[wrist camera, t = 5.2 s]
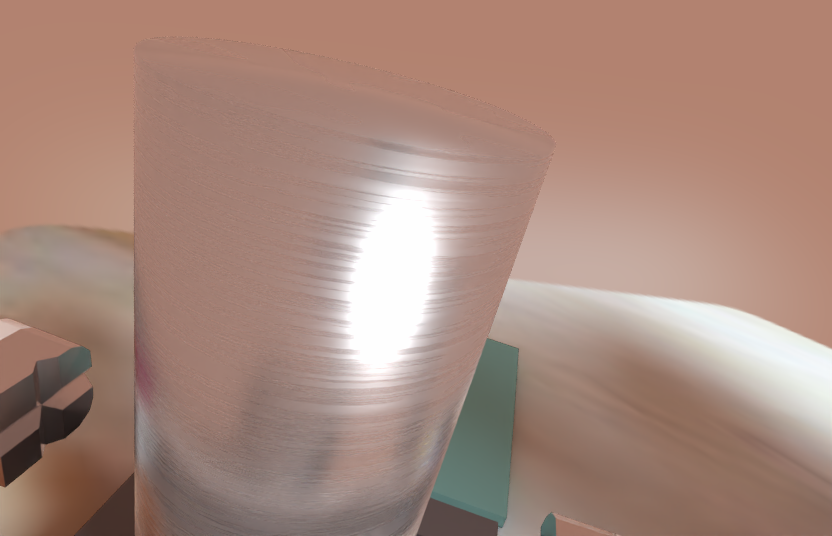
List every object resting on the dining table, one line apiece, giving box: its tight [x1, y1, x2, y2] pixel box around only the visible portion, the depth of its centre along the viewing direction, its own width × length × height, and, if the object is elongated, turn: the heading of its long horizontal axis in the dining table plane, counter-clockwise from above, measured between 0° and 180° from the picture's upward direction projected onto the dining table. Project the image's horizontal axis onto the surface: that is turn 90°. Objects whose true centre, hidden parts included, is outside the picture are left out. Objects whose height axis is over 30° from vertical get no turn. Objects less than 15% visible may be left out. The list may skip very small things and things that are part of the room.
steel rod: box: [134, 37, 556, 536], centre depth 9 cm, size 4×4×14 cm
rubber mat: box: [430, 338, 519, 527], centre depth 23 cm, size 11×11×1 cm
